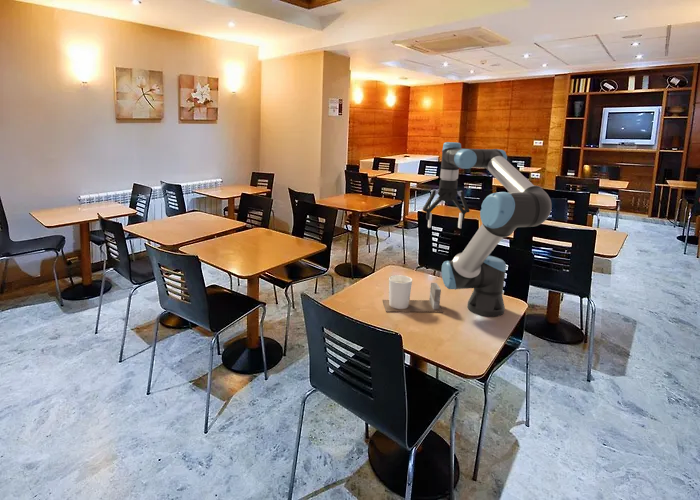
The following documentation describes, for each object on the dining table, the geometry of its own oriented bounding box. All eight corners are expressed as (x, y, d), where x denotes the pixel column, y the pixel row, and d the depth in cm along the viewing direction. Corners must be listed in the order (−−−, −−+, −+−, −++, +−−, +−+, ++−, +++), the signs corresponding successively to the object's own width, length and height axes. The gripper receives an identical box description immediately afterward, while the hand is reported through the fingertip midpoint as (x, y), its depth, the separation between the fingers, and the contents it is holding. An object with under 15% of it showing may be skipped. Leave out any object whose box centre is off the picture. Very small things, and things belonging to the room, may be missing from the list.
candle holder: (409, 311, 184) (411, 284, 180) (386, 308, 185) (387, 281, 182) (411, 302, 193) (413, 276, 190) (388, 299, 195) (390, 274, 191)
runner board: (436, 301, 196) (438, 281, 193) (443, 312, 185) (445, 291, 182) (382, 300, 195) (383, 280, 192) (386, 311, 183) (387, 290, 181)
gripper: (474, 178, 194) (469, 226, 200) (418, 177, 192) (414, 225, 198) (480, 181, 186) (474, 230, 192) (421, 179, 185) (418, 228, 191)
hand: (444, 227), depth 195 cm, fingers open, 13 cm apart
